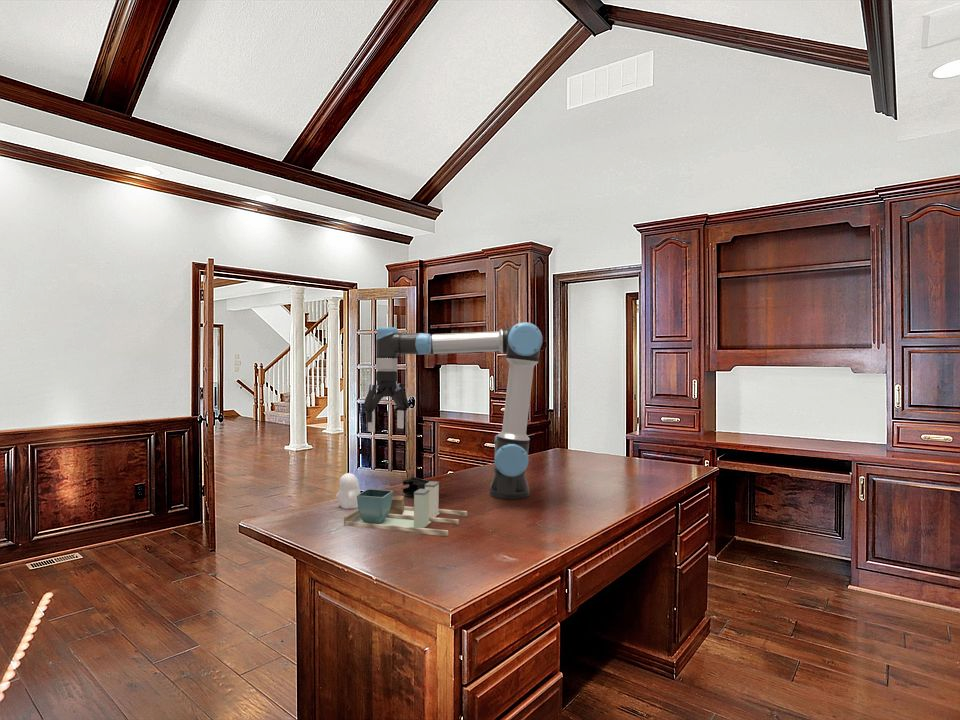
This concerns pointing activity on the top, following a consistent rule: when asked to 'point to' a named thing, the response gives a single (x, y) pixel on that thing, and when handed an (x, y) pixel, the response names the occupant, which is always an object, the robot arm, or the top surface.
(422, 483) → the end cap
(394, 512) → the walnut block
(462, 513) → the lane frame
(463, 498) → the top surface
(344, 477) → the figurine
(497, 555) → the top surface
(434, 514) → the cream strip
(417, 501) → the sage strip
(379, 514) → the flower pot
